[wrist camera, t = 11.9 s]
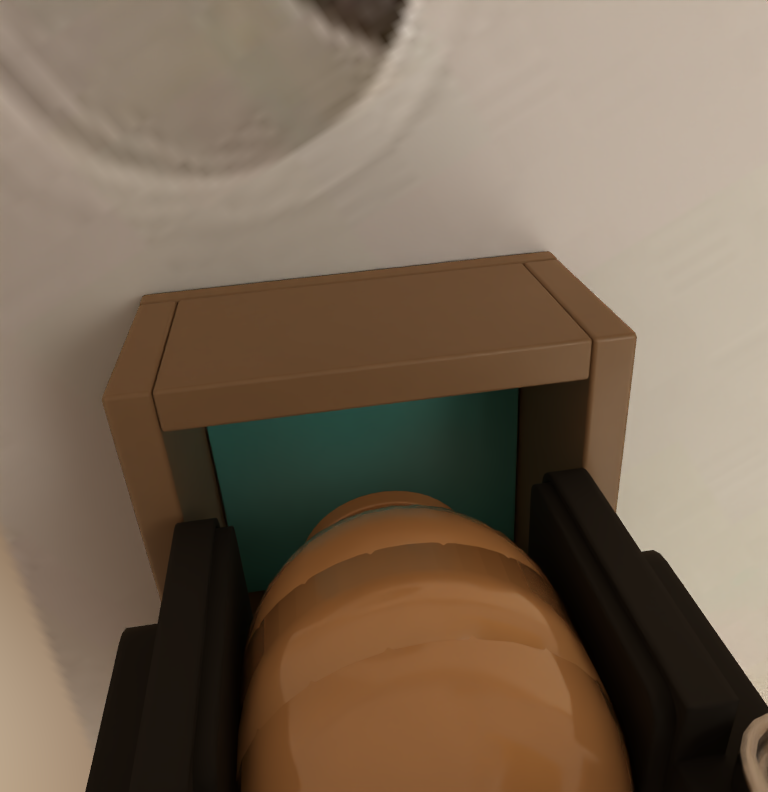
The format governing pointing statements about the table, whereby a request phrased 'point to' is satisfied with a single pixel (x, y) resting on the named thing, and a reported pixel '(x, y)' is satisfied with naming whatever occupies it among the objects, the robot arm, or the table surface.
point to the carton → (365, 399)
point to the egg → (420, 665)
